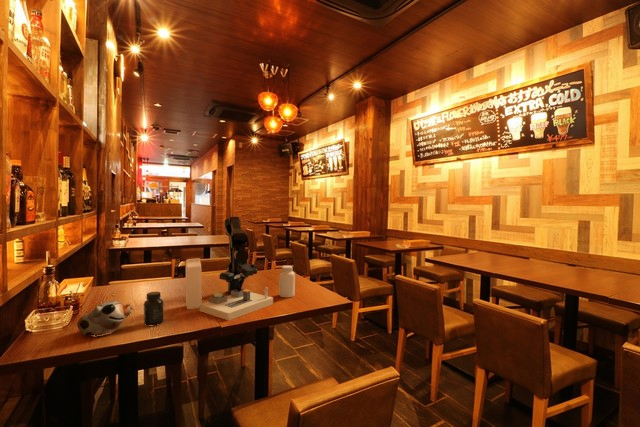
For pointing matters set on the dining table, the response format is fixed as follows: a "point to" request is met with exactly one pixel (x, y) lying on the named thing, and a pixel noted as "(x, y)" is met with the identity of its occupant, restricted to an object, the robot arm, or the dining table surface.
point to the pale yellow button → (218, 294)
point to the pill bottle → (287, 282)
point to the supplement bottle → (153, 309)
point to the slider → (246, 295)
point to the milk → (193, 283)
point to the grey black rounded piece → (104, 318)
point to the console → (235, 304)
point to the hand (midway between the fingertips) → (239, 291)
